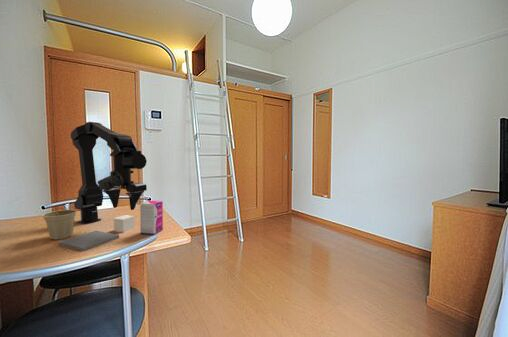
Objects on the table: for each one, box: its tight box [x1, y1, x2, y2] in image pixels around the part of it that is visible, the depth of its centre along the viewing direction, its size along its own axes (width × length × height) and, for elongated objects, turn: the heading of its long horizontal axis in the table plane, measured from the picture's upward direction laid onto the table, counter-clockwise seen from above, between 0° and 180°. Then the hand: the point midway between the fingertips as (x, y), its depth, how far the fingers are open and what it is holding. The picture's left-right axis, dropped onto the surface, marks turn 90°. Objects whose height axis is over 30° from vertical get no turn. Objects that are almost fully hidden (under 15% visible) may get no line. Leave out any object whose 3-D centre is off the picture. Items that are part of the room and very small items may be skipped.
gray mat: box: [58, 230, 120, 252], centre depth 79 cm, size 12×12×1 cm
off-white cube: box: [113, 214, 136, 233], centre depth 91 cm, size 5×5×5 cm
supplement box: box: [139, 200, 164, 236], centre depth 88 cm, size 6×6×12 cm
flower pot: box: [41, 209, 78, 241], centre depth 83 cm, size 9×9×9 cm
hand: (123, 208), depth 90 cm, fingers open, 9 cm apart
